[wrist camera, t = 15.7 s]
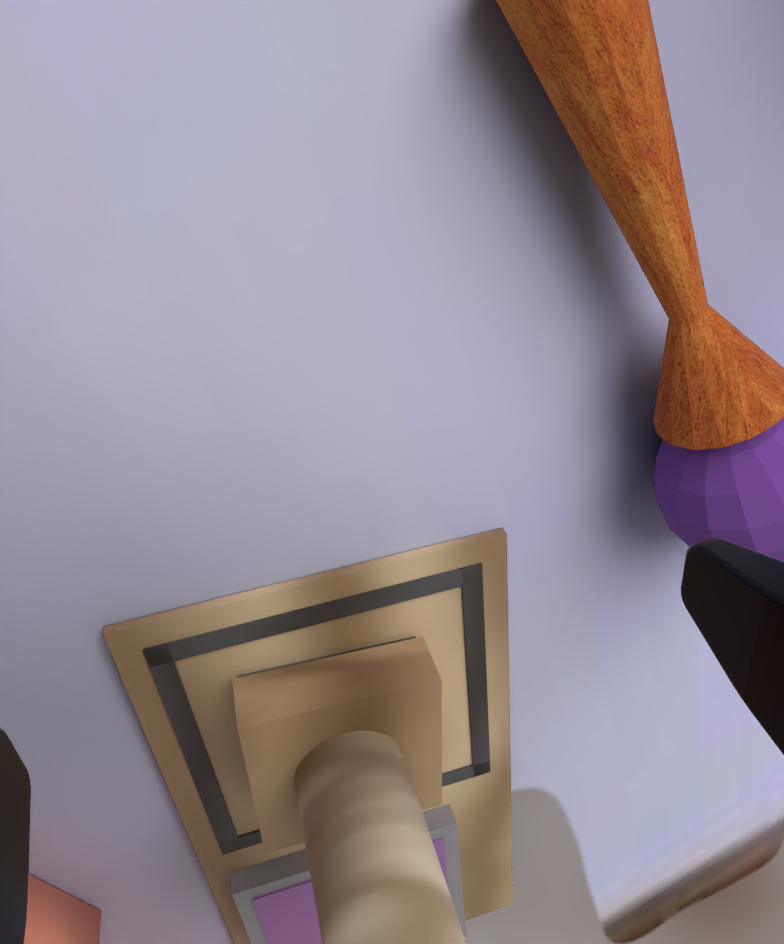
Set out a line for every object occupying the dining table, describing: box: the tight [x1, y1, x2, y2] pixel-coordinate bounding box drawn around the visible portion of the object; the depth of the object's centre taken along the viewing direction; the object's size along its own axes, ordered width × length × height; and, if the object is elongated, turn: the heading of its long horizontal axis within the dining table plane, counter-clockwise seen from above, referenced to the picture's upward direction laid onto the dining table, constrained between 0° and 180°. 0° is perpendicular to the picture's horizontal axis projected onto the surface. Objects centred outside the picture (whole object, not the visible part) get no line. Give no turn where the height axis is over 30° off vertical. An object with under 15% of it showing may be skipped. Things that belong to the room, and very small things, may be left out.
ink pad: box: [230, 804, 466, 944], centre depth 34 cm, size 10×10×1 cm
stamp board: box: [103, 528, 513, 944], centre depth 31 cm, size 14×25×1 cm, turn 6°
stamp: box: [232, 636, 467, 944], centre depth 22 cm, size 7×7×15 cm
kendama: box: [496, 0, 784, 562], centre depth 21 cm, size 6×6×20 cm
